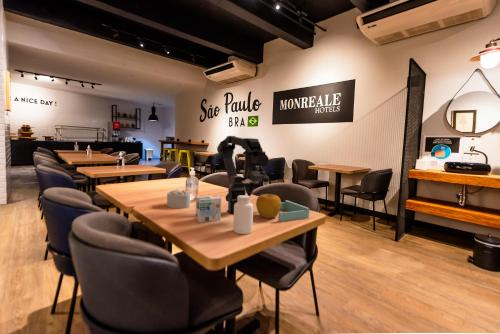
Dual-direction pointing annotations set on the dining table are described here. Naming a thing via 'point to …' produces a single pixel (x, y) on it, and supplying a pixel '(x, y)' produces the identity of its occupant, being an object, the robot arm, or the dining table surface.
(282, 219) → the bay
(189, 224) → the dining table surface
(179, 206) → the lumpy-topped squat cylinder
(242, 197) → the pill bottle
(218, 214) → the light bulb box
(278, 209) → the apple
